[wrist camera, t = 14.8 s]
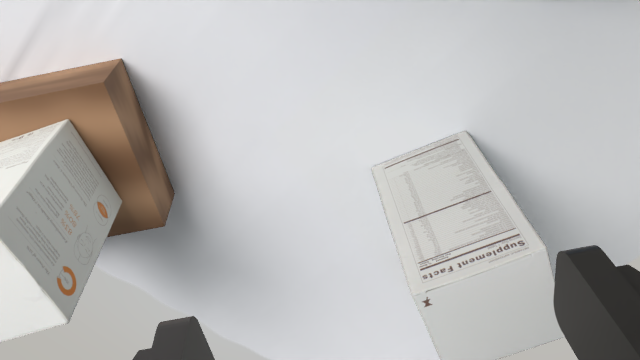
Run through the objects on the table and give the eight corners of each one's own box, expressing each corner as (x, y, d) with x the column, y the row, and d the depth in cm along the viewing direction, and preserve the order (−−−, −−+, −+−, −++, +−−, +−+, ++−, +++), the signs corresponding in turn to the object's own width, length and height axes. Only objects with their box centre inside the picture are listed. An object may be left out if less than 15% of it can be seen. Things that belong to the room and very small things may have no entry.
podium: (-37, 90, 42) (-72, 117, 38) (121, 58, 42) (103, 81, 38) (38, 219, 49) (15, 254, 45) (174, 193, 49) (164, 226, 44)
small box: (-7, 142, 40) (-118, 256, 28) (69, 116, 39) (-14, 222, 28) (55, 224, 44) (-21, 351, 33) (125, 202, 43) (72, 324, 32)
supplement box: (399, 238, 53) (443, 381, 39) (367, 166, 49) (404, 298, 34) (492, 204, 52) (573, 340, 38) (468, 127, 47) (551, 247, 33)
